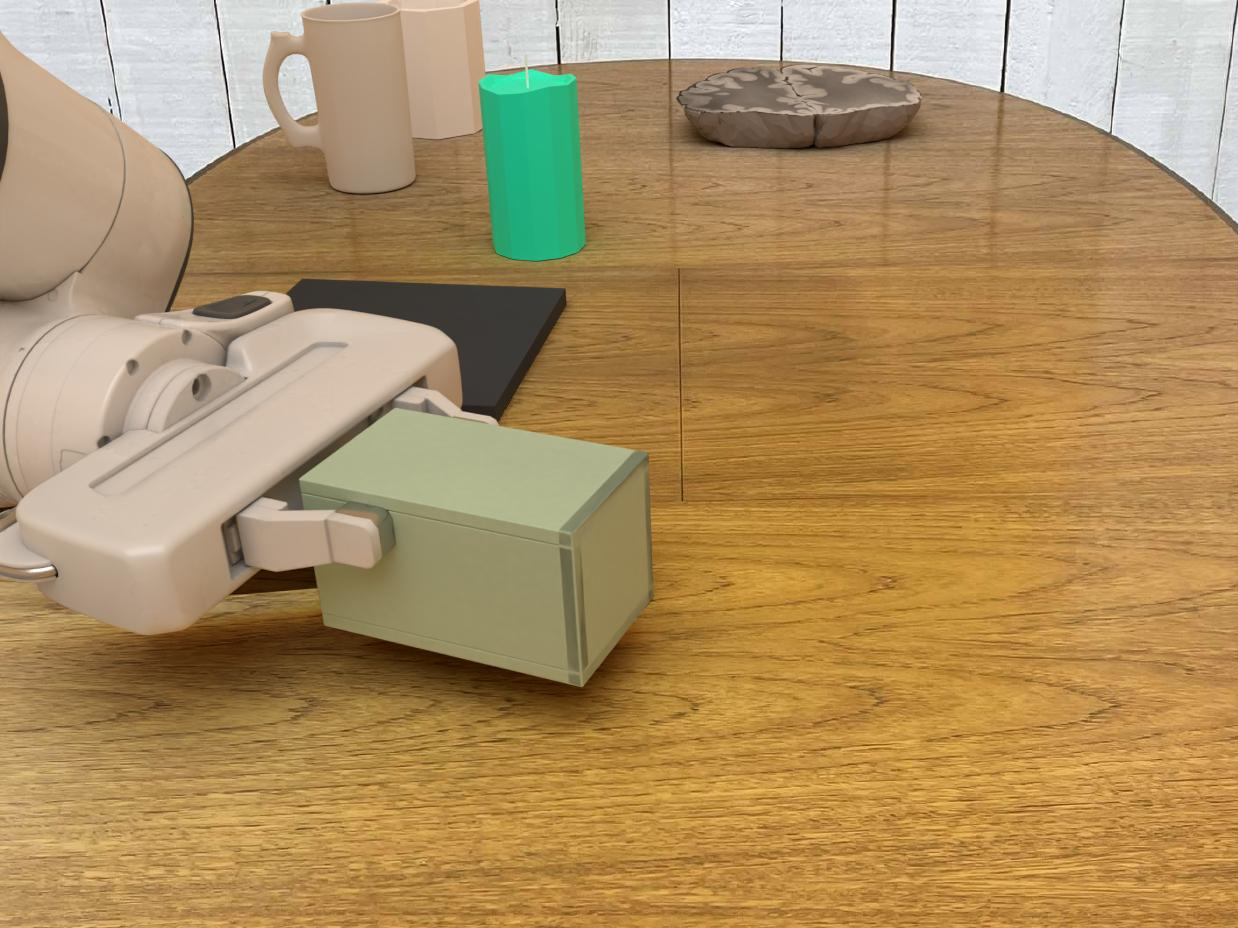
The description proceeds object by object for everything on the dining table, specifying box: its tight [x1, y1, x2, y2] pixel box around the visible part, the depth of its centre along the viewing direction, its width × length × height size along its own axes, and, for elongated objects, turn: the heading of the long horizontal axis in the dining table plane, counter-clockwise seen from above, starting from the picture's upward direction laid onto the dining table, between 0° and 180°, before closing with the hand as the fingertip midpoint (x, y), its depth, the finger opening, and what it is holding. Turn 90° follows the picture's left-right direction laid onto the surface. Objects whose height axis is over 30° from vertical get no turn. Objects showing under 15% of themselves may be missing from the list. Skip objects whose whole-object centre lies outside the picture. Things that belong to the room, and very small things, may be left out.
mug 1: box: [262, 1, 417, 195], centre depth 101 cm, size 10×7×12 cm, turn 100°
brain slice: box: [675, 63, 923, 149], centre depth 116 cm, size 20×17×3 cm
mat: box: [285, 278, 567, 423], centre depth 77 cm, size 16×16×1 cm
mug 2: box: [375, 0, 487, 140], centre depth 116 cm, size 12×9×10 cm
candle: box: [478, 53, 587, 262], centre depth 89 cm, size 6×6×12 cm
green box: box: [299, 408, 655, 688], centre depth 54 cm, size 11×6×6 cm, turn 68°
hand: (442, 489), depth 53 cm, fingers closed on green box, 6 cm apart
